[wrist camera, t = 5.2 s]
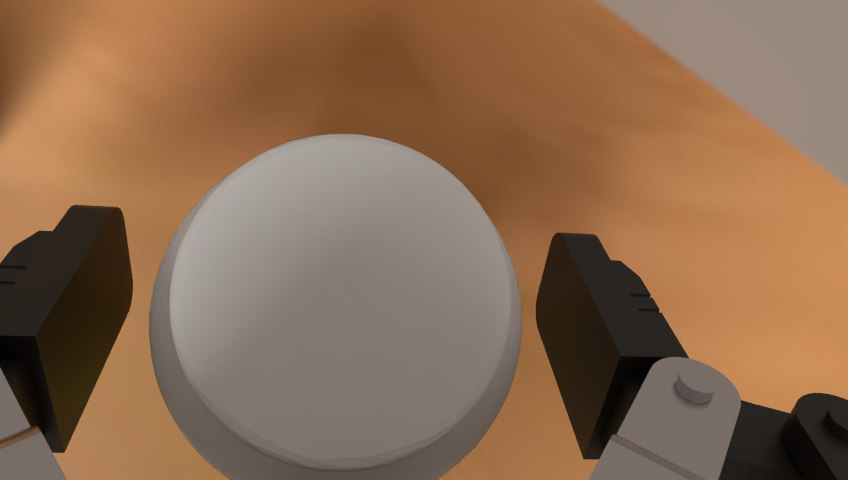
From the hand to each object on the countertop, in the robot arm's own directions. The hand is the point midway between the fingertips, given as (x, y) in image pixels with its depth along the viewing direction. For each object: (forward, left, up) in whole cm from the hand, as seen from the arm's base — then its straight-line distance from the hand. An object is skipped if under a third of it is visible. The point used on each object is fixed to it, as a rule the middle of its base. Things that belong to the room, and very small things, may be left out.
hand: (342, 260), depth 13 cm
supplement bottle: (-1, -1, -5) cm, 6 cm away
